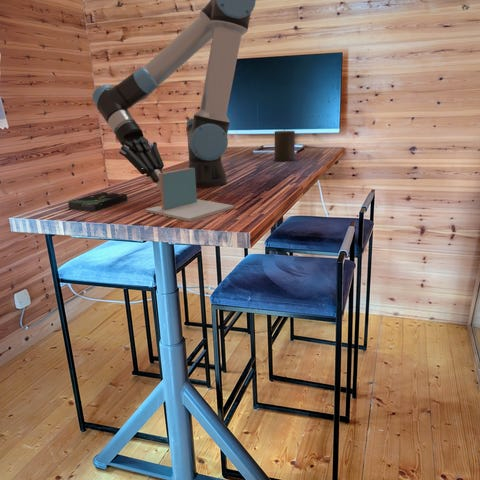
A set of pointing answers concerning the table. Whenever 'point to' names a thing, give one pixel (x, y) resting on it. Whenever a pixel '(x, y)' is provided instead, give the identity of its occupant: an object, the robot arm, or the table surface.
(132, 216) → the table surface
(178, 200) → the tile
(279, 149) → the pillar candle
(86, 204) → the disk drive
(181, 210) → the mat
